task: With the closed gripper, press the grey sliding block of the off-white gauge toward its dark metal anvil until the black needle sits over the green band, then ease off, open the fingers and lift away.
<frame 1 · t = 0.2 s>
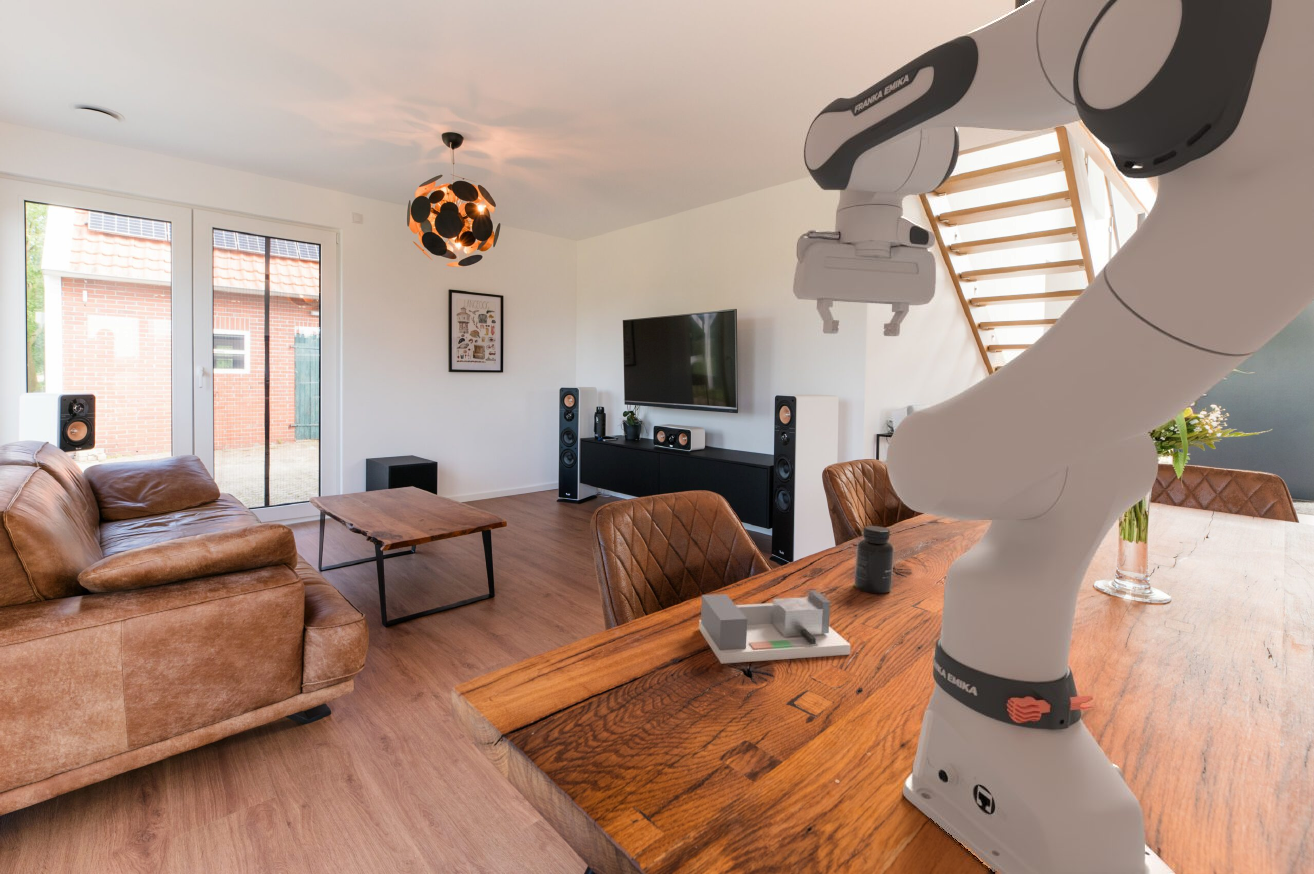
hand: (861, 334, 88), 47 cm above the table, fingers open, 8 cm apart
supplement bottle: (872, 589, 122), on the table
grey sliding block: (805, 617, 95), point 4 cm above the table, slide at 0.0 cm
gauge base: (771, 641, 96), on the table
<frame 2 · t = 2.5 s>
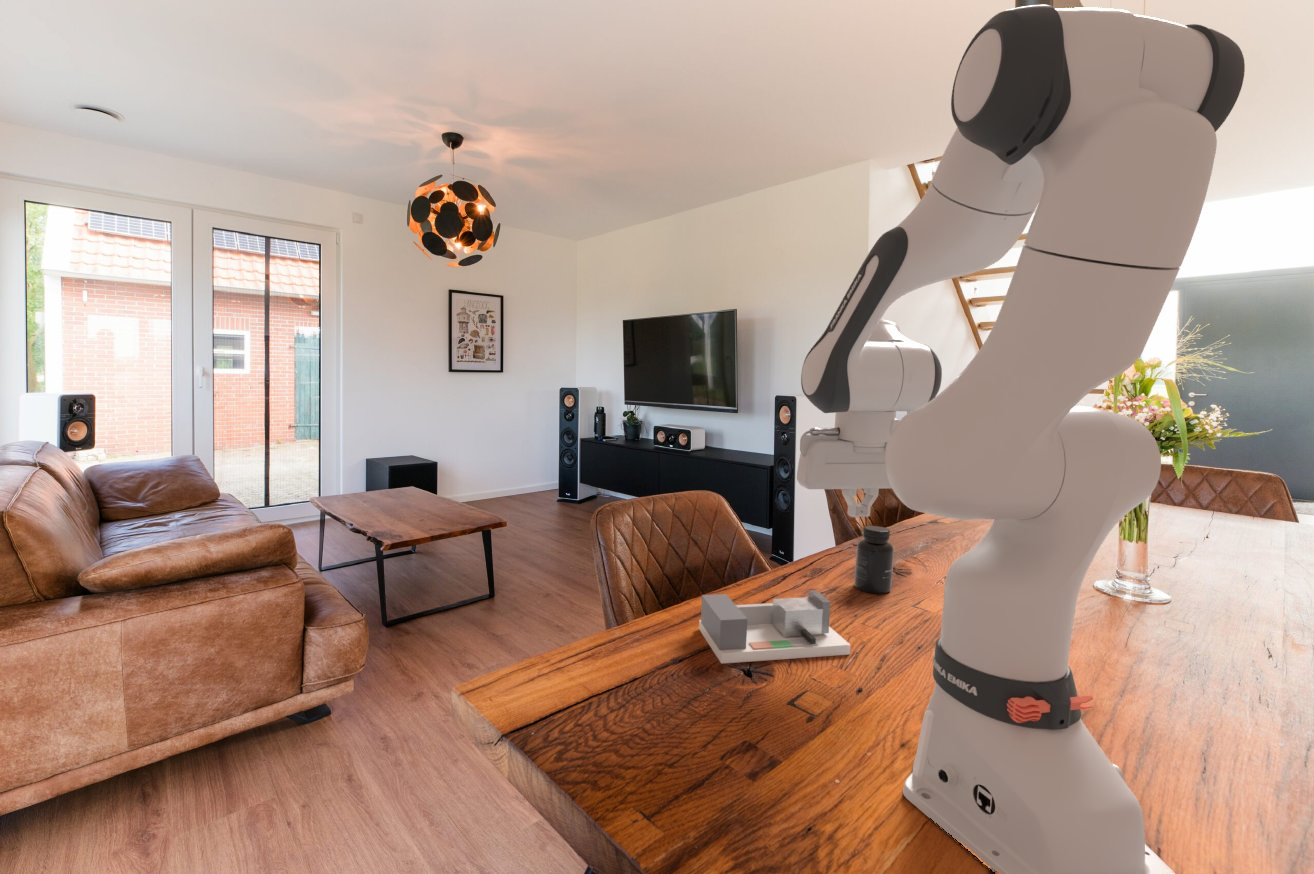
hand: (858, 516, 97), 19 cm above the table, fingers closed
nothing on the table moved.
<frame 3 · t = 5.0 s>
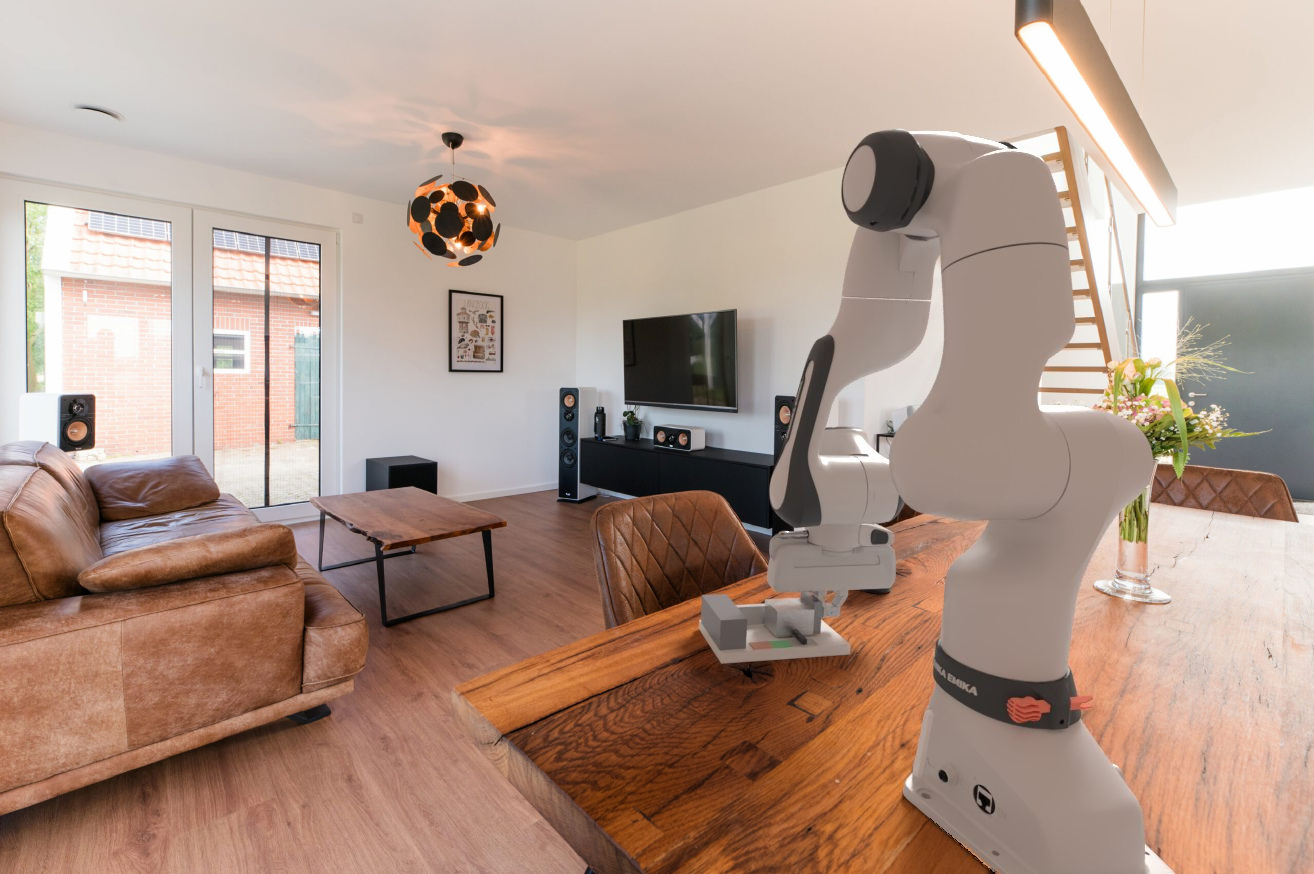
hand: (828, 615, 98), 4 cm above the table, fingers closed
grey sliding block: (797, 617, 95), point 4 cm above the table, slide at 1.4 cm, touching gripper
everything else where it was.
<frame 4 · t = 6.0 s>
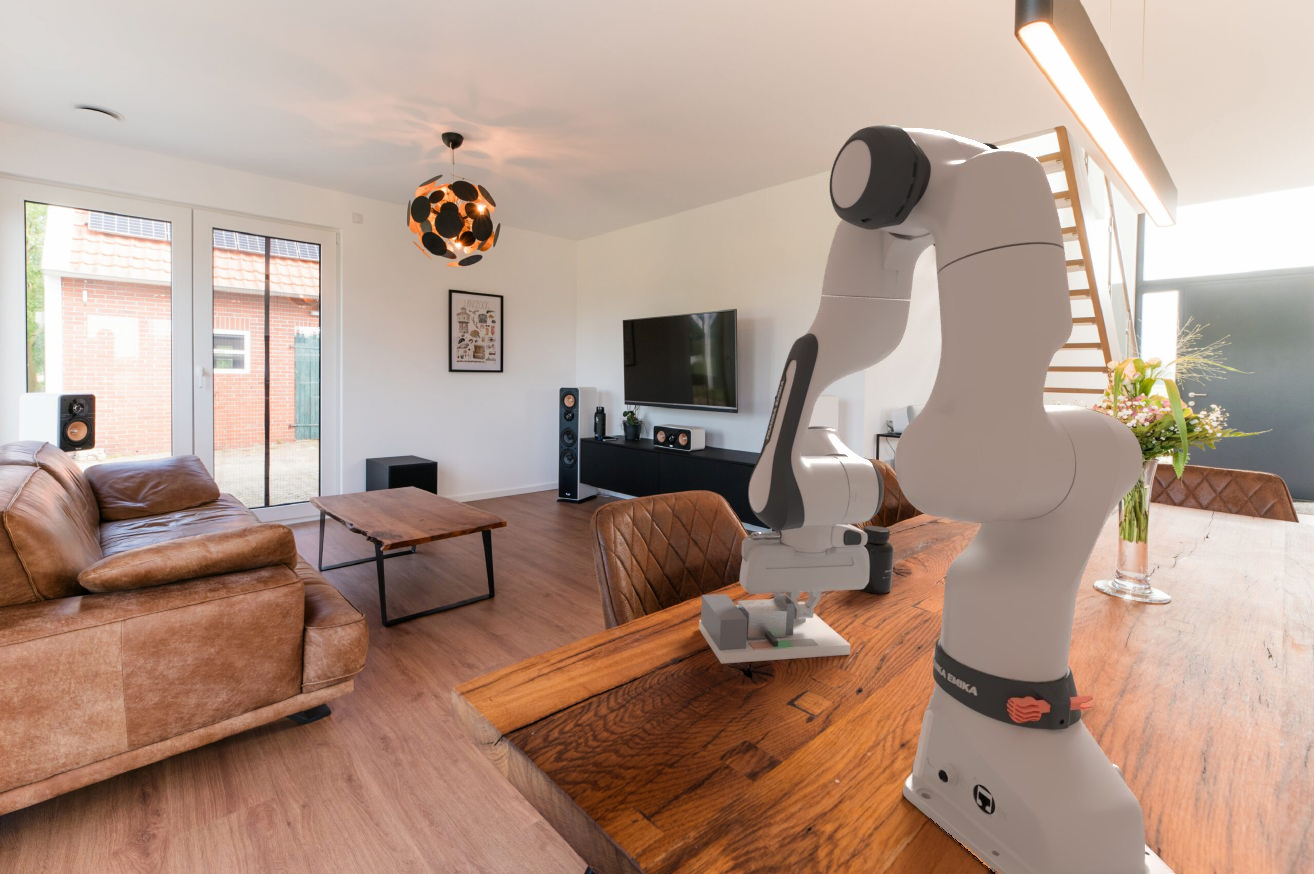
hand: (802, 617, 97), 4 cm above the table, fingers closed
grey sliding block: (769, 619, 94), point 4 cm above the table, slide at 5.8 cm, touching gripper
everything else where it was.
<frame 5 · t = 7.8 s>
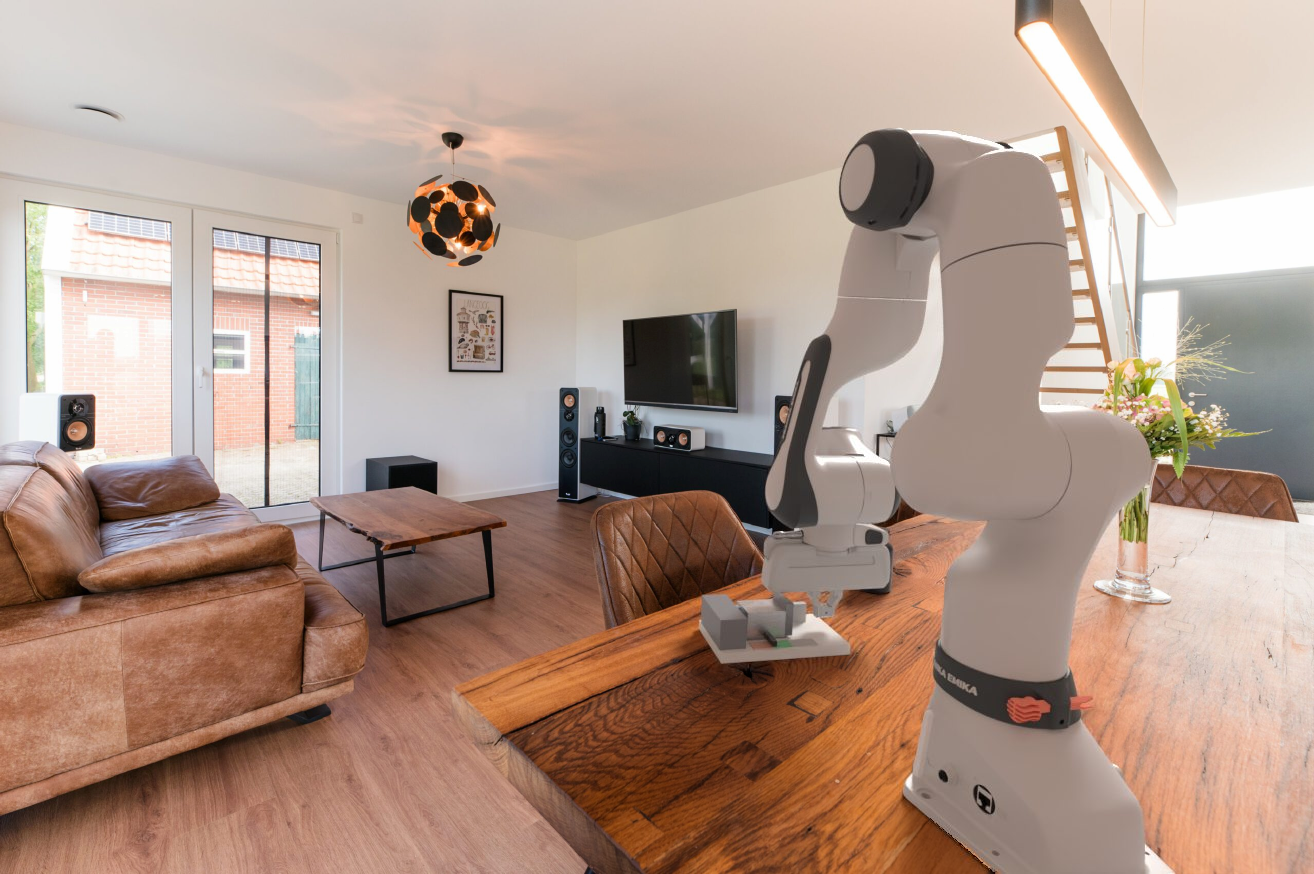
hand: (823, 616, 98), 4 cm above the table, fingers closed
grey sliding block: (768, 619, 94), point 4 cm above the table, slide at 6.0 cm
everything else where it was.
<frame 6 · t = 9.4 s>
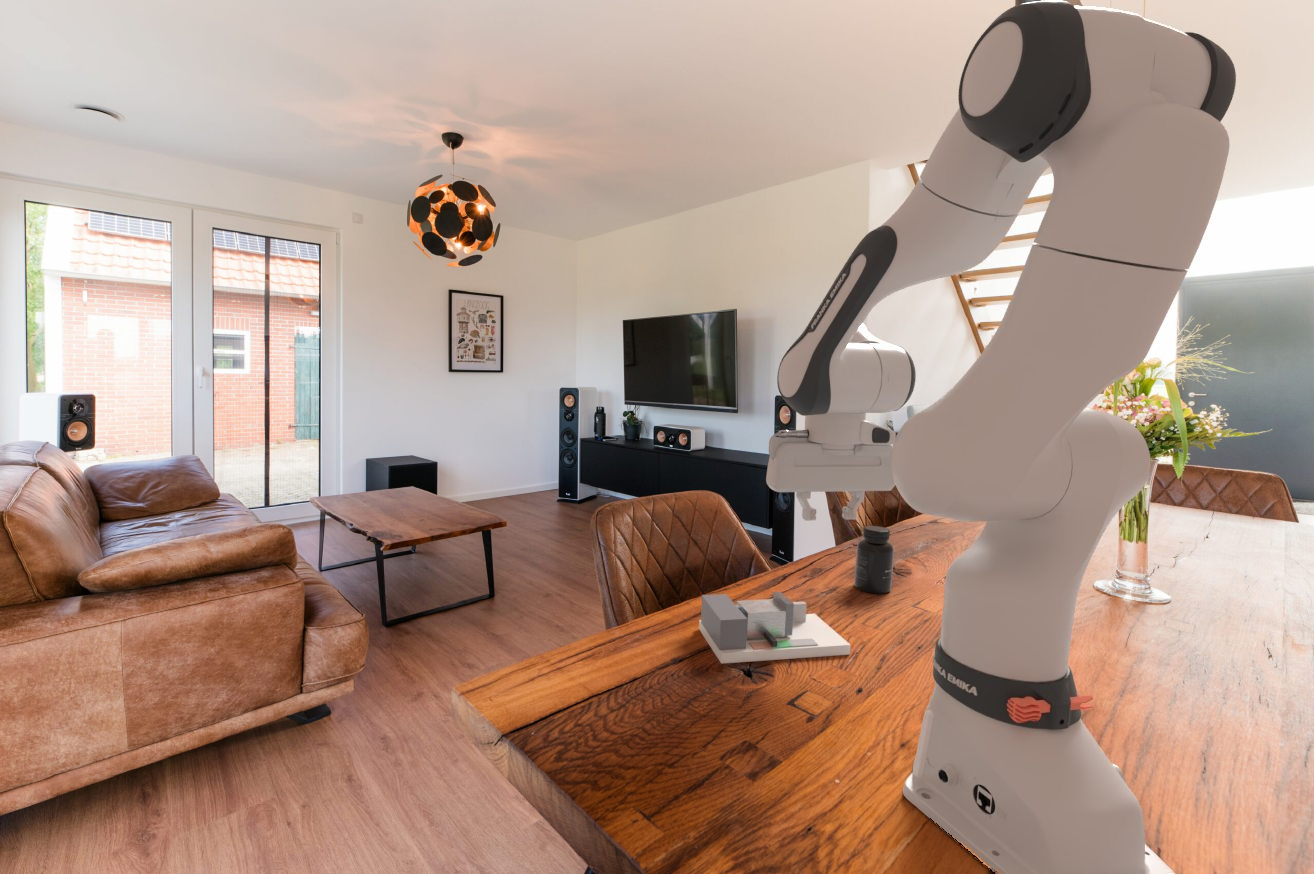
hand: (829, 519, 96), 19 cm above the table, fingers open, 5 cm apart
nothing on the table moved.
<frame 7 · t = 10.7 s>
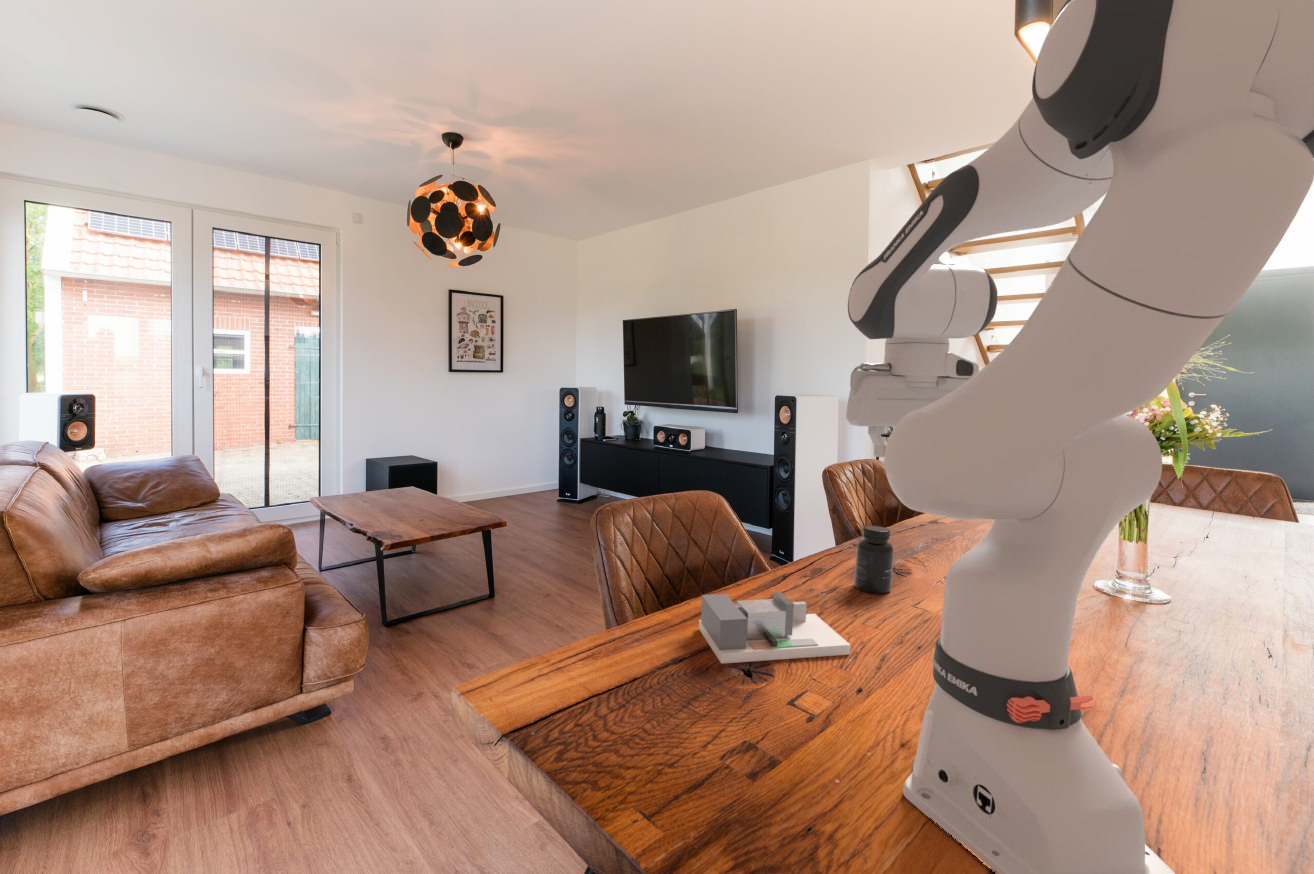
hand: (909, 456, 94), 29 cm above the table, fingers open, 8 cm apart
nothing on the table moved.
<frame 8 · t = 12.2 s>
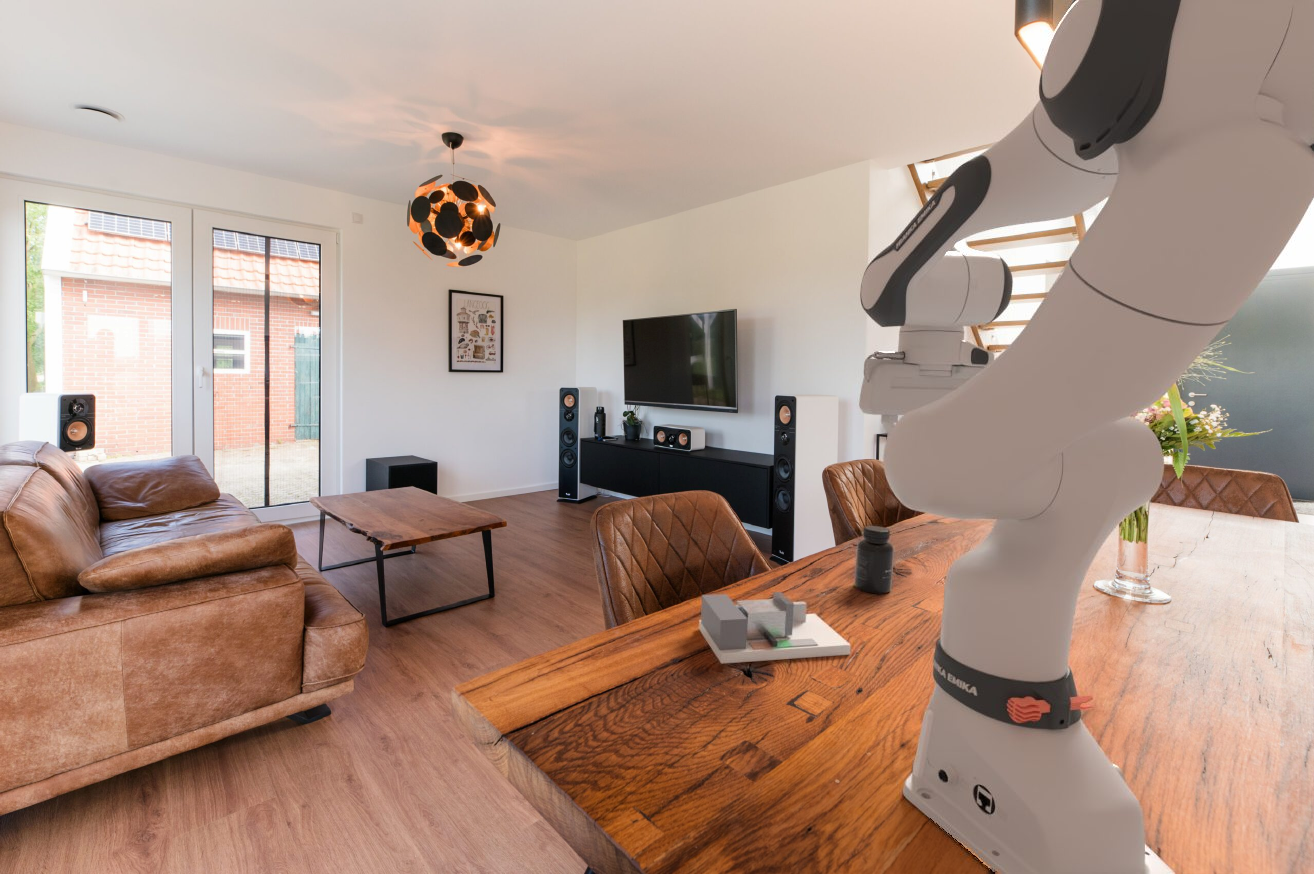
hand: (922, 445, 93), 31 cm above the table, fingers open, 8 cm apart
nothing on the table moved.
at the end: grey sliding block slide at 6.0 cm; the gripper is holding nothing; supplement bottle moved 0.2 cm from its start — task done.
